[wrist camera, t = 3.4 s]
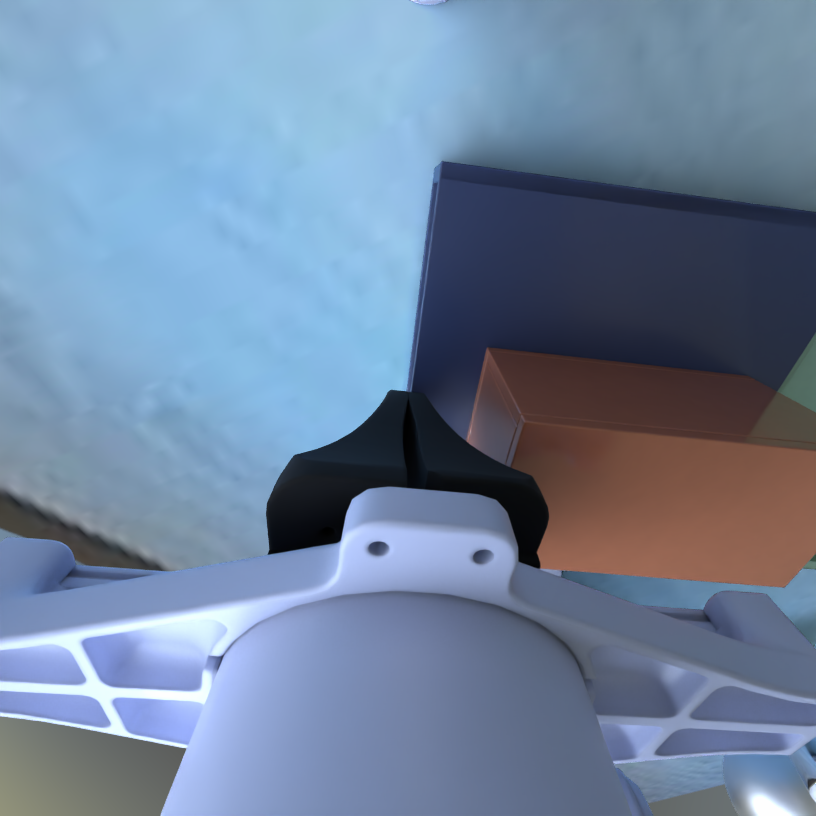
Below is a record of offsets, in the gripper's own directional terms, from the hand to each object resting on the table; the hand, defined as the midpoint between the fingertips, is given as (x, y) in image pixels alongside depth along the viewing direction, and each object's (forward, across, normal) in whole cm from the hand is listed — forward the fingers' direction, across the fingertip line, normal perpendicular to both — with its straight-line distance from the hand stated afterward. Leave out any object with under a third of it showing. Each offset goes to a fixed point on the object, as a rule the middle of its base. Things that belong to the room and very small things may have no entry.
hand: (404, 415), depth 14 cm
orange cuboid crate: (+1, -8, 0) cm, 8 cm away
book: (+4, -7, 0) cm, 8 cm away
